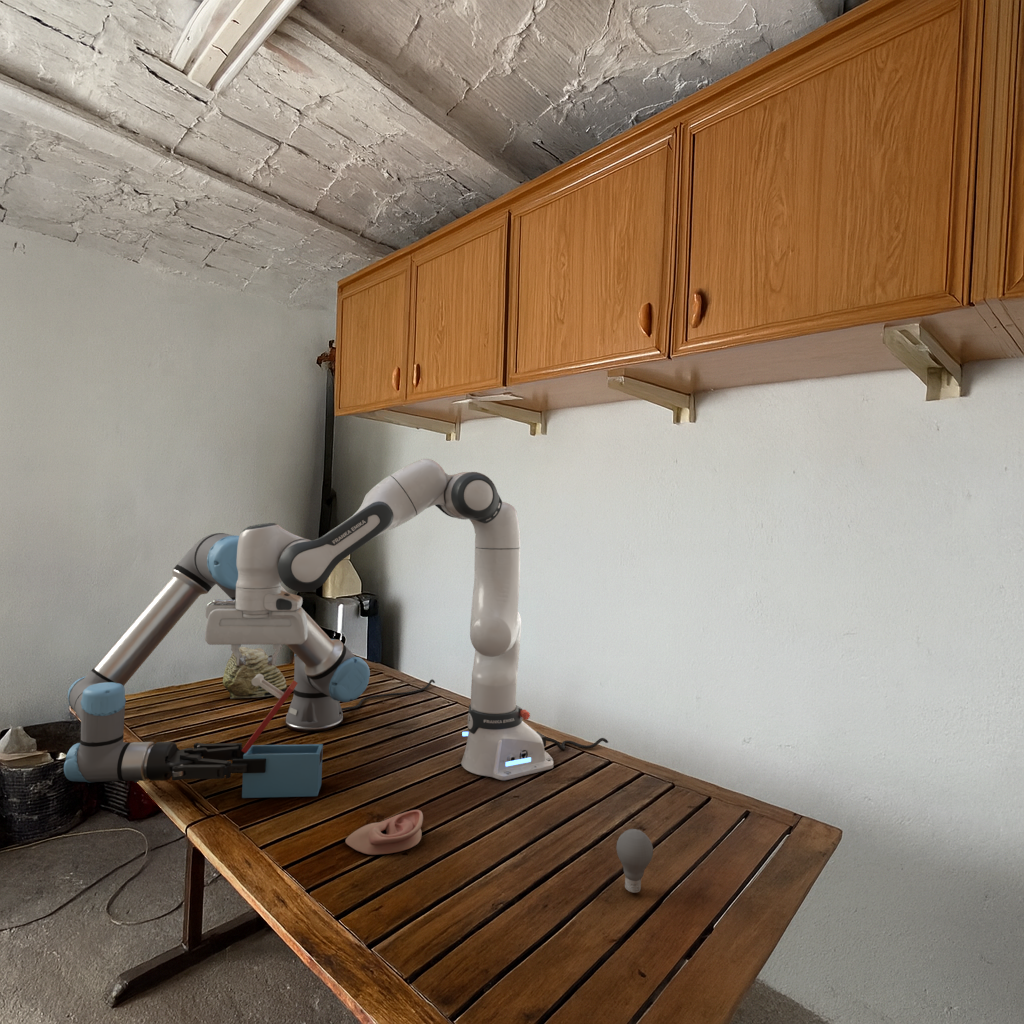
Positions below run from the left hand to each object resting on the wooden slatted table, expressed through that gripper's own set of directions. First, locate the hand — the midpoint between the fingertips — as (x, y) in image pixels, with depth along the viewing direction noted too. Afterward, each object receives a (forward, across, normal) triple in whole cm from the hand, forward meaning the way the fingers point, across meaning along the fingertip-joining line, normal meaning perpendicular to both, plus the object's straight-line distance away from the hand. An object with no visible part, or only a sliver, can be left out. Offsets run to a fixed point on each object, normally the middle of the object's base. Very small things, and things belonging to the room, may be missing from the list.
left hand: (268, 759), depth 135 cm
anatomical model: (+26, +21, -7) cm, 34 cm away
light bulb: (+67, +40, -7) cm, 79 cm away
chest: (+3, 0, -7) cm, 8 cm away
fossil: (-19, -66, -7) cm, 69 cm away
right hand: (-3, 0, +20) cm, 21 cm away
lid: (0, 0, +9) cm, 9 cm away
